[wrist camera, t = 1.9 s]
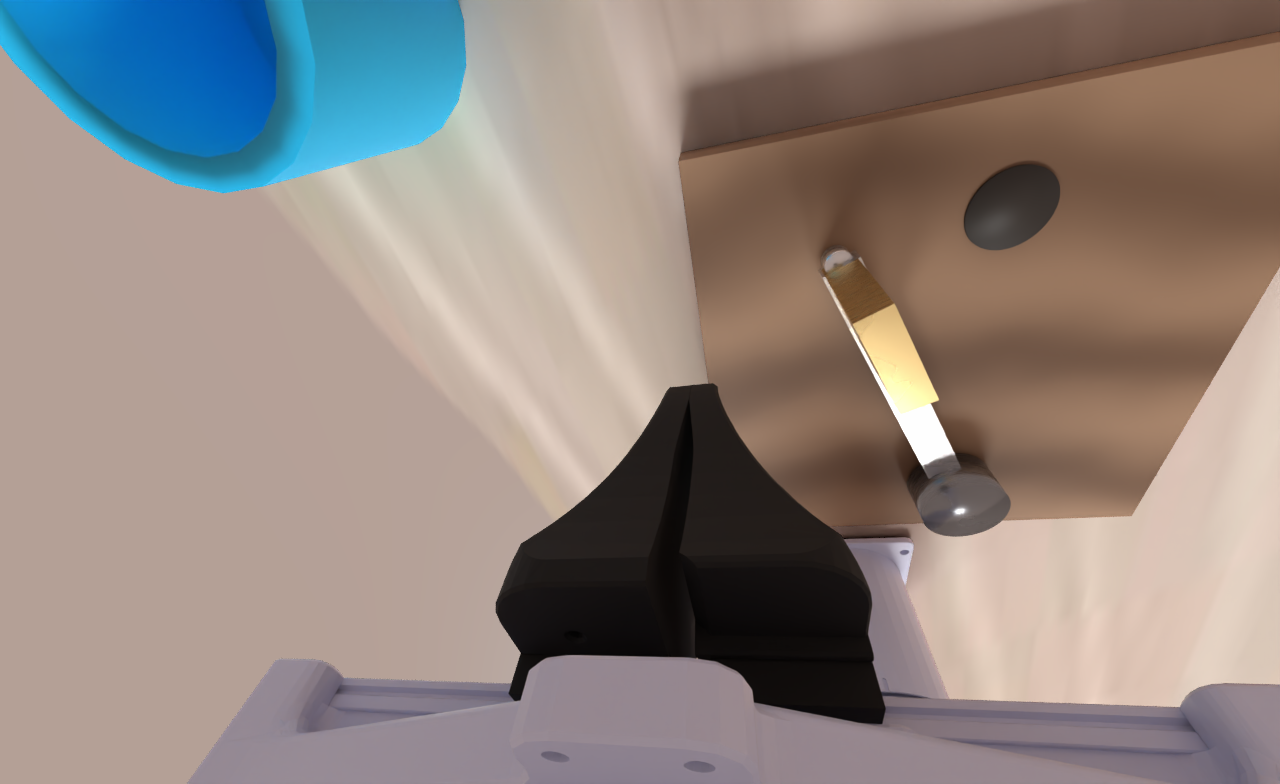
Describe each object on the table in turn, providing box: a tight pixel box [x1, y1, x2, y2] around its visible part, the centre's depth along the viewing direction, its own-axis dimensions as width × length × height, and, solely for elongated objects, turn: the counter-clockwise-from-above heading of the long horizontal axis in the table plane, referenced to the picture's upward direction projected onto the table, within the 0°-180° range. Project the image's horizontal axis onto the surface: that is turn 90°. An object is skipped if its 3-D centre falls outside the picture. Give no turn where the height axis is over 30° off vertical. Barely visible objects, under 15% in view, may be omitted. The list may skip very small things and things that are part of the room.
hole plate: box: [679, 31, 1280, 526], centre depth 20 cm, size 20×20×2 cm
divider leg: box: [818, 245, 1011, 536], centre depth 18 cm, size 16×4×5 cm, turn 36°
